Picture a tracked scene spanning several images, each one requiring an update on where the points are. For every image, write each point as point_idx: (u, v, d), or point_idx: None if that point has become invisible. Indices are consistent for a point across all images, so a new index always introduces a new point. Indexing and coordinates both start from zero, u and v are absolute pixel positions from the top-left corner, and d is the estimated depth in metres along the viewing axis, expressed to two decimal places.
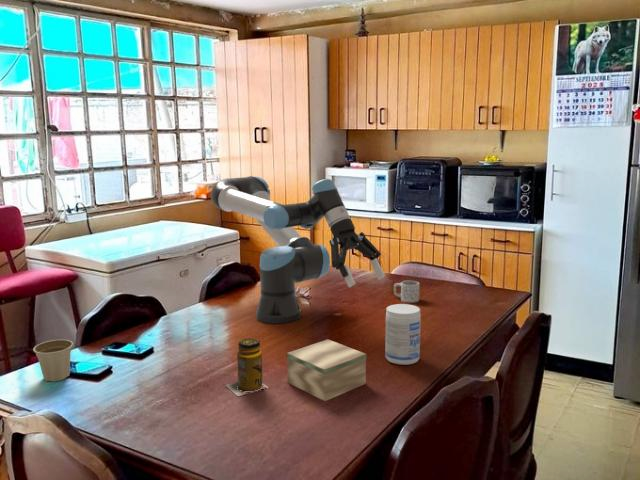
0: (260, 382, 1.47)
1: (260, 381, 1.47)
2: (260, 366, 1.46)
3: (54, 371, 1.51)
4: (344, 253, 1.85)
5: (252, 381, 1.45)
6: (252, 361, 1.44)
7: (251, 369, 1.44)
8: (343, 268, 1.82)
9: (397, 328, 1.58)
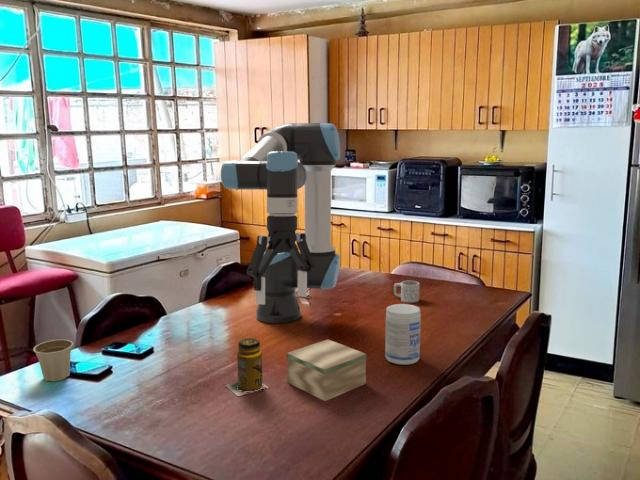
0: (260, 382, 1.47)
1: (260, 381, 1.47)
2: (260, 366, 1.46)
3: (54, 371, 1.51)
4: (268, 261, 1.42)
5: (252, 381, 1.45)
6: (252, 361, 1.44)
7: (251, 369, 1.44)
8: (258, 281, 1.41)
9: (397, 328, 1.58)
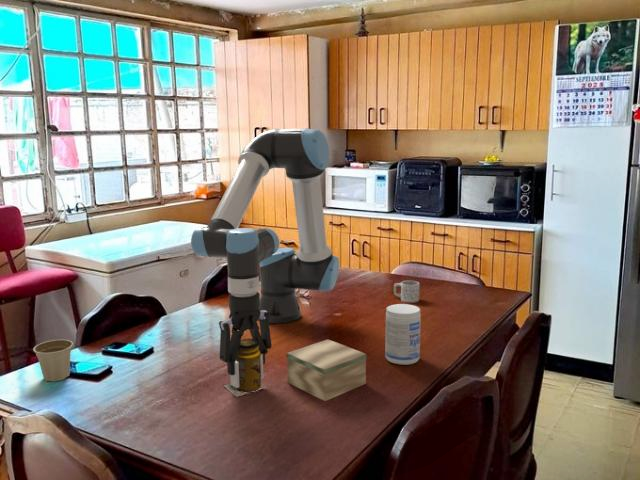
0: (259, 382, 1.46)
1: (259, 381, 1.46)
2: (259, 366, 1.46)
3: (54, 371, 1.51)
4: (237, 344, 1.42)
5: (251, 381, 1.44)
6: (251, 361, 1.44)
7: (249, 370, 1.44)
8: (232, 366, 1.43)
9: (397, 328, 1.58)
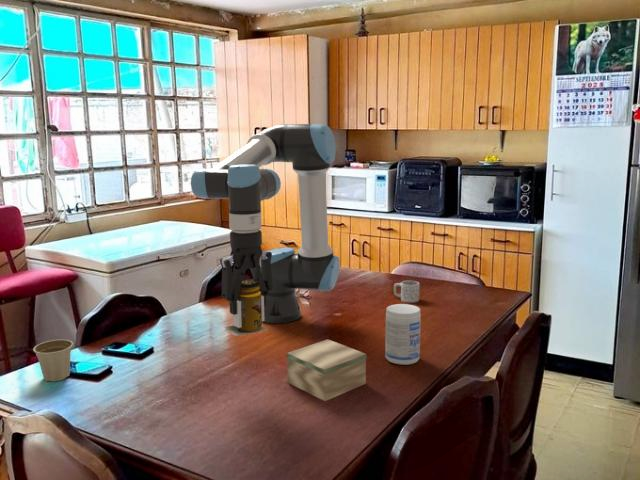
0: (259, 323, 1.43)
1: (260, 322, 1.43)
2: (259, 307, 1.43)
3: (54, 371, 1.51)
4: (239, 282, 1.40)
5: (251, 321, 1.41)
6: (252, 300, 1.40)
7: (250, 309, 1.41)
8: (234, 304, 1.40)
9: (397, 328, 1.58)
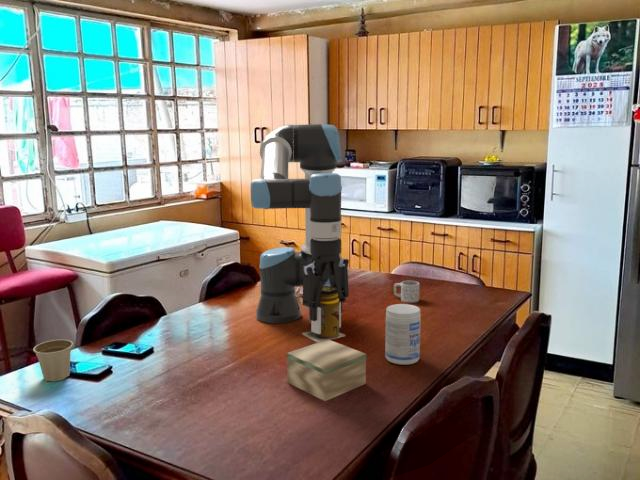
0: (338, 330, 1.45)
1: (338, 328, 1.45)
2: (338, 313, 1.45)
3: (54, 371, 1.51)
4: (319, 289, 1.42)
5: (331, 327, 1.43)
6: (332, 307, 1.42)
7: (330, 316, 1.43)
8: (314, 311, 1.42)
9: (397, 328, 1.58)
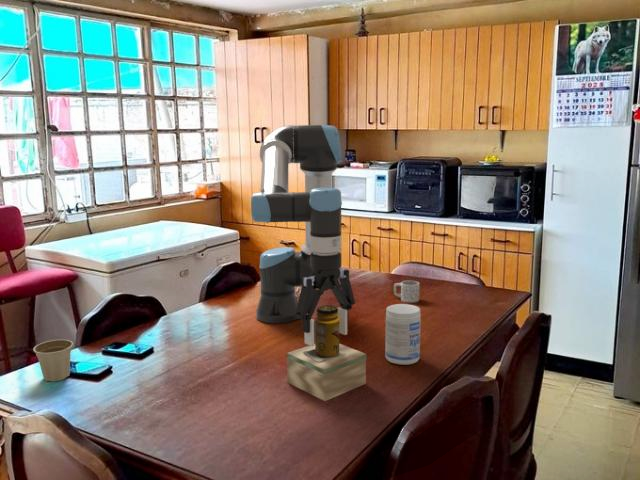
0: (338, 349, 1.46)
1: (338, 347, 1.46)
2: (338, 332, 1.46)
3: (54, 371, 1.51)
4: (315, 302, 1.41)
5: (331, 347, 1.44)
6: (332, 327, 1.44)
7: (330, 335, 1.44)
8: (307, 323, 1.41)
9: (397, 328, 1.58)
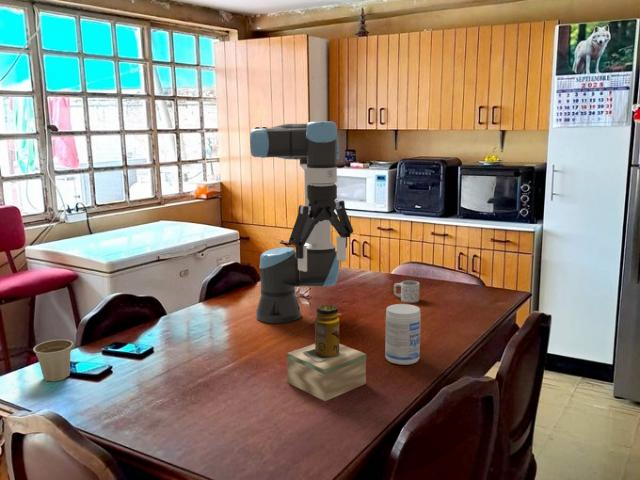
0: (338, 349, 1.46)
1: (338, 347, 1.46)
2: (338, 332, 1.46)
3: (54, 371, 1.51)
4: (309, 230, 1.46)
5: (331, 347, 1.44)
6: (332, 327, 1.44)
7: (330, 335, 1.44)
8: (300, 249, 1.46)
9: (397, 328, 1.58)
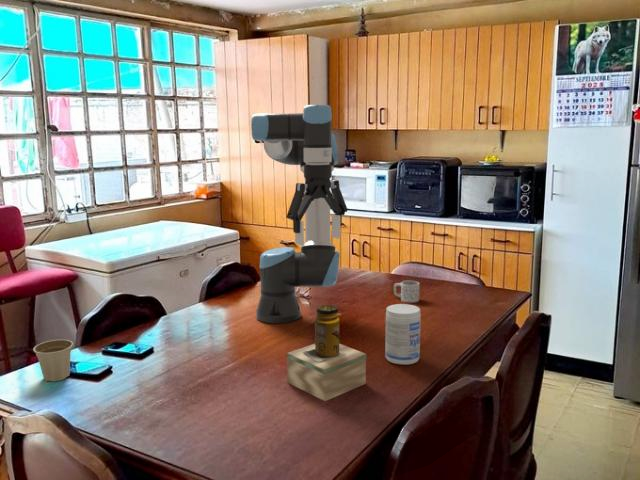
0: (338, 349, 1.46)
1: (338, 347, 1.46)
2: (338, 332, 1.46)
3: (54, 371, 1.51)
4: (306, 206, 1.56)
5: (331, 347, 1.44)
6: (332, 327, 1.44)
7: (330, 335, 1.44)
8: (297, 224, 1.56)
9: (397, 328, 1.58)
